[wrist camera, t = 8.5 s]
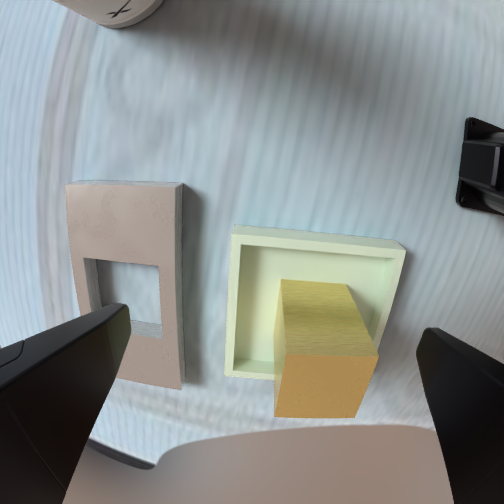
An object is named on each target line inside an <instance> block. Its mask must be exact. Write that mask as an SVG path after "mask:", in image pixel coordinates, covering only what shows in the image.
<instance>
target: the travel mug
mask: <svg viewBox="0 0 504 504" xmlns="http://www.w3.org/2000/svg"><path fill="white" fill-rule="evenodd" d="M53 1H55V2H57V3H59V4H61V5H63V6H65V7H67V8H69V9H71V10H73V11H75V12H77V13H79V14H81V15H83V16H85V17H87V18H89V19H91V20H92V21H94V22H96V23H98V24H100V25H102V26H104V27H107V28H122V27H127V26H130V25H133V24H135V23H137V22H139V21H141V20H143V19H145V18H146V17H148V16H149V15H150V14H152V13H153V12H154V11H155V10H156V9H157V8H158V7H159V6H160V5H161V3H162V2H163V1H164V0H53Z"/></svg>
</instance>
